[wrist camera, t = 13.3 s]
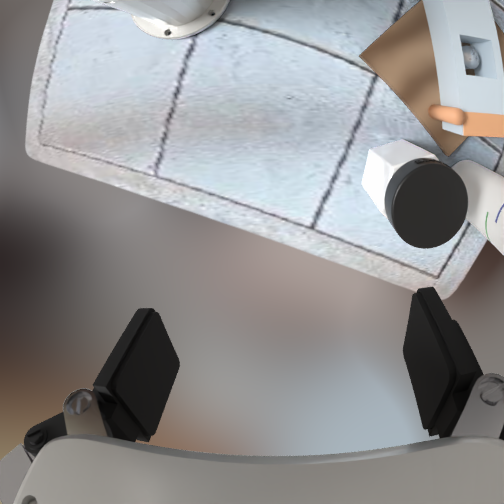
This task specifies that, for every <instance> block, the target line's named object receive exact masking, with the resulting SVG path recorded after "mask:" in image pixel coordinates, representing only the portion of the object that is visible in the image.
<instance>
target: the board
mask: <svg viewBox="0 0 504 504" xmlns="http://www.w3.org/2000/svg"><path fill="white" fill-rule="evenodd" d="M494 22H495V21H494ZM495 26H496V30H497V35H498V40H499V46H500V51H501V57H502V64H503V71H504V33H503V32H502V30H501V29H500V28H499V26H498V25H497V24H496V22H495ZM461 46H470V44H469V43H463V42H461ZM359 57H360V58H361V59H362V60H363V61H364V62H365V63H366V64H367V65H368V66H369V67H370V68H371V69H372V70H373V71H374V72H375V73H376V74H377V75H378V76H379V77H380V78H381V79H382V80H383V81H384V82H385V83H386V84H387V85H388V86H389V87H390V88H391V89H392V90H393V91H394V93H395V94H396V95H397V96H398V97H399V98H400V99H401V100H402V101H403V103H404V104H405V105H406V106H407V107H408V108H409V110H410V111H411V112H412V113H413V114H414V115H415V117H416V118H417V119H418V120H419V121H420V123H421V124H422V125H423V126H424V128H425V129H426V130H427V131H428V133H429V134H430V135H431V137H432V138H433V139H434V141H435V142H436V143H437V145H438V146H439V147H440V149H441V150H442V151H443V153H444V154H445V155H446V156H448V157H449V156H450V155H451V154H452V153H453V152H454V151H455V150H456V149H457V148H458V146H459V145H460V144H461V143H462V142H463V141H464V140H465V139H466V138H467V137H468V136H463V135H459V134H456V133H453V132H450V131H447V130H444V129H443V128H442V121H440V120H436V119H433V118H431V117H430V116H429V113H428V109H429V107H430V106H431V105H433V104H435V105H441V102H440V92H439V83H438V76H437V69H436V62H435V56H434V50H433V45H432V39H431V34H430V30H429V25H428V21H427V16H426V12H425V8H424V4H423V0H420V1H419V2H418V3H417V4H416V5H415V6H413V7H412V8H411V9H410V10H409V11H408V12H406V13H405V14H404V15H403V16H402V17H401V18H400V19H399V20H397V21H396V22H395V23H394V24H393V25H392V26H391V27H390V28H388V29H387V30H386V31H385V32H384V33H383V34H382V35H381V36H380V37H379V38H378V39H376V40H375V41H374V42H373V43H372V44H371V45H370V46H369V47H368V48H367V49H366V50H365V51H364V52H362V53H361V54H360V55H359ZM465 71H466V75H472V76H475V71H474V69H465Z"/></svg>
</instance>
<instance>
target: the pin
mask: <svg viewBox="0 0 504 504" xmlns="http://www.w3.org/2000/svg"><path fill="white" fill-rule="evenodd" d="M428 113H429V116H430V117H431V118H433V119H436V120H440V121H444V122H448V123H451V124H455V125H462V124H463V123H464V121H465V114H464V112H463V111H462V110H461V109H459V108H454V107H448V106H442V105H435V104H433V105H431V106H430V107H429V109H428Z"/></svg>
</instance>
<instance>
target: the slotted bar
mask: <svg viewBox="0 0 504 504" xmlns="http://www.w3.org/2000/svg"><path fill="white" fill-rule="evenodd" d="M423 4H424V8H425V12H426V16H427V21H428V25H429V30H430V34H431V39H432V45H433V50H434V56H435V62H436V69H437V76H438V83H439V92H440V102H441V105H442V106H448V107H454V108H459V109H461V110H462V111H463V112H464V114H465V121H464V123H463V124H462V125H455V124H451V123H448V122H444V121H442V128H443V129H444V130H447V131H450V132H453V133H456V134H459V135H463V136H486V137H504V71H503V64H502V57H501V51H500V46H499V40H498V35H497V30H496V26H495V22H494V17H493V13H492V9H491V6H490V2H489V0H423ZM461 42H463V43H469V44H470V46H471V47H472V48H474V49H475V50H476V52H477V53H478V56H479V65H478V67H477V68H475V69H474V71H475V76H472V75H466V71H465V64H464V57H463V51H462V46H461Z"/></svg>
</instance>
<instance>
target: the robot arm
mask: <svg viewBox="0 0 504 504" xmlns="http://www.w3.org/2000/svg"><path fill="white" fill-rule="evenodd" d="M92 1H95V2H98V3H101V4H104V5H107V6H110V7H113V8H116V9H118V10H121V11H124V12H127V13H129V14H131V17H132V19H133V21H134V23H135V24H136V25H137V27H138V28H139V29H141V30H142V31H143V32H145V33H147V34H149V35H151V36H153V37H156V38H161V39H167V40H169V39H181V38H187V37H189V36H192V35H195V34H197V33H199V32H201V31H203V30H205V29H206V28H208V27H209V26H211V25H212V24H213V23H214V22H215V21H216V20H217V19H218V18H219V17H220V16H221V15H222V13H223V12H224V11H225V9H226V8H227V5H228V3H229V1H230V0H92ZM213 13H215V15H214V16H211V15H212V14H213ZM170 32H171V34H170V35H169V33H170ZM403 355H404V359H405V362H406V365H407V369H408V372H409V376H410V379H411V383H412V386H413V390H414V393H415V397H416V401H417V405H418V409H419V413H420V417H421V421H422V425H423V428H424V429H428V432H429V436H434V435H438V434H439V437H440V439H435V440H430V441H423V442H419V443H413V444H408V445H402V446H396V447H389V448H382V449H376V450H368V451H359V452H351V453H339V454H327V455H309V456H246V455H228V454H215V453H204V452H195V451H186V450H179V449H172V448H165V447H158V446H153V445H147V444H141V443H136V442H135V441H136V439H137V440H140V441H145V442H149V440H150V438H151V436H152V435H154V434H155V433H156V430H157V427H158V424H159V422H160V419H161V416H162V413H163V411H164V408H165V405H166V402H167V400H168V397H169V394H170V392H171V389H172V386H173V384H174V381H175V378H176V375H177V373H178V370H179V367H180V362H179V358H178V357H177V354H176V352H175V350H174V347H173V345H172V343H171V341H170V338H169V336H168V334H167V331H166V329H165V327H164V324H163V322H162V320H161V317H160V315H159V313H158V312H155V310H154V309H152V308H141V309H138V310H137V311H136V313H135V314H134V316H133V318H132V319H131V321H130V322H129V324H128V326H127V328H126V329H125V331H124V332H123V334H122V336H121V337H120V339H119V341H118V342H117V344H116V346H115V347H114V349H113V351H112V353H111V354H110V356H109V357H108V359H107V361H106V363H105V364H104V366H103V368H102V370H101V371H100V373H99V375H98V377H97V378H96V380H95V382H94V384H93V386H94V389H93V391H91V390H89V389H86V388H82V389H78V390H75V391H74V392H72V393H71V394H70V395H69V396H68V397H67V398H66V400H65V402H64V404H63V412H62V413H60V414H58V415H56V416H54V417H52V418H50V419H48V420H45V421H43V422H41V423H39V424H37V425H35V426H33V427H32V428H30V430H29V431H28V432H27V434H26V435H25V439H24V445H22V444H19V445H18V446H17V447H16V448H15V449H13V450H12V451H11V452H10V453H8V454H7V455H6V456H5V457H4V458H2V459H1V460H0V500H1V502H2V504H504V377H503V376H501V375H499V374H494V373H489V374H485V375H483V372H482V370H481V368H480V366H479V364H478V362H477V360H476V357H475V355H474V353H473V351H472V349H471V347H470V345H469V343H468V341H467V339H466V337H465V335H464V333H463V332H462V330H461V328H460V326H459V324H458V323H457V321H455V320H452V319H451V317H450V315H449V313H448V312H447V310H446V308H445V306H444V304H443V302H442V301H441V299H440V297H439V295H438V294H437V292H436V290H435V288H434V287H427V288H419V289H418V290H417V293H414V294H413V296H412V302H411V308H410V314H409V320H408V325H407V331H406V336H405V341H404V346H403Z"/></svg>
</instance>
